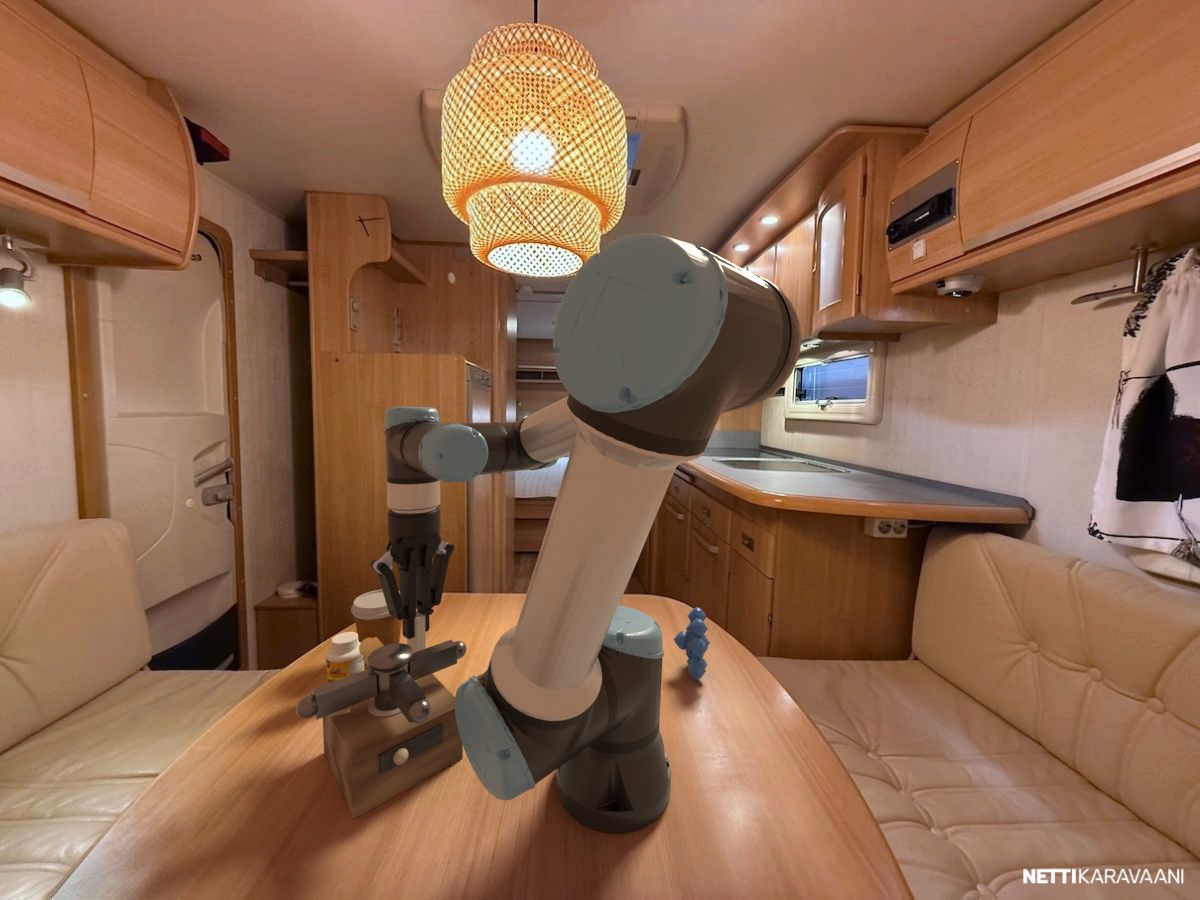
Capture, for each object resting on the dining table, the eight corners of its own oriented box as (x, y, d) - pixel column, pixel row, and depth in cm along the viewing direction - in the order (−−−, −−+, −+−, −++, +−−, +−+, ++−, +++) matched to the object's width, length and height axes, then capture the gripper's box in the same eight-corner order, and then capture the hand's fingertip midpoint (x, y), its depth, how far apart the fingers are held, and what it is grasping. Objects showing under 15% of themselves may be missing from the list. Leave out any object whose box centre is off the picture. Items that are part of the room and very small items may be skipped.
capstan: (503, 704, 63) (503, 658, 62) (319, 797, 47) (317, 737, 47) (435, 641, 79) (434, 604, 78) (281, 696, 63) (278, 649, 63)
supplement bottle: (320, 697, 76) (318, 639, 75) (352, 680, 80) (350, 625, 79) (340, 709, 73) (337, 649, 72) (372, 691, 78) (370, 634, 77)
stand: (467, 764, 62) (467, 708, 62) (355, 829, 53) (353, 763, 52) (421, 707, 74) (420, 659, 73) (322, 752, 64) (319, 697, 63)
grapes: (672, 652, 92) (674, 596, 91) (705, 655, 91) (708, 598, 90) (672, 687, 81) (675, 623, 80) (711, 691, 80) (714, 626, 79)
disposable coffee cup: (392, 672, 83) (391, 610, 82) (341, 670, 83) (339, 608, 82) (415, 645, 93) (414, 588, 91) (369, 643, 93) (367, 587, 92)
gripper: (437, 497, 76) (438, 630, 79) (358, 511, 66) (363, 663, 68) (465, 504, 72) (465, 644, 74) (385, 520, 62) (389, 682, 64)
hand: (416, 653), depth 71 cm, fingers closed
